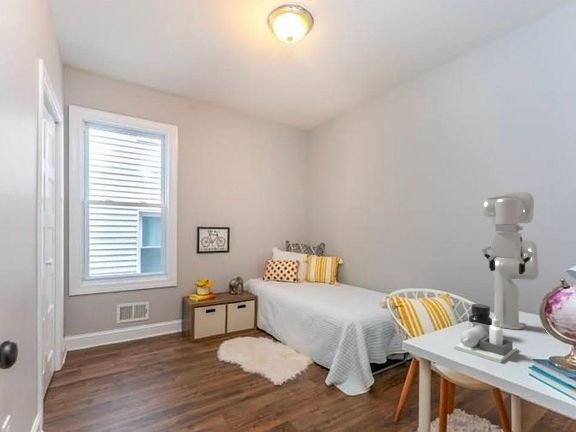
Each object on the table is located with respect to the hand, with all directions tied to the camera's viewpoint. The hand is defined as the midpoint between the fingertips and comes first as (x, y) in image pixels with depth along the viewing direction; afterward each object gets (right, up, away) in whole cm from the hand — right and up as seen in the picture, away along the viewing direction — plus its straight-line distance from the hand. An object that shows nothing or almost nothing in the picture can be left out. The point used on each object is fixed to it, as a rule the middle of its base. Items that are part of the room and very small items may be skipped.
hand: (506, 272), depth 124 cm
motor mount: (-12, -28, -7) cm, 31 cm away
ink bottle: (-4, -29, +11) cm, 31 cm away
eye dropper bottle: (-10, -27, -9) cm, 30 cm away
